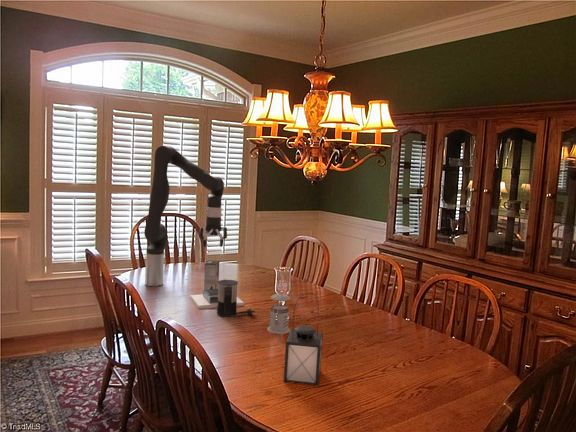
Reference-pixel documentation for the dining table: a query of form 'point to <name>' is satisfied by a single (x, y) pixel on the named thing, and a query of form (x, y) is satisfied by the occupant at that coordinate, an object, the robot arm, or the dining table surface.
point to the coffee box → (211, 275)
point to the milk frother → (228, 299)
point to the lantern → (303, 354)
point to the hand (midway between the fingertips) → (212, 246)
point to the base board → (203, 303)
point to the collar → (209, 293)
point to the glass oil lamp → (279, 314)
